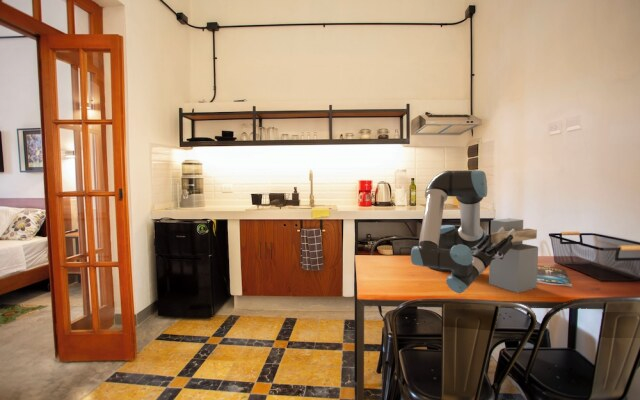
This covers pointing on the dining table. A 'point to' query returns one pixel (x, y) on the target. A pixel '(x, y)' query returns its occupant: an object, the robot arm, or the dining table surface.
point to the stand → (514, 261)
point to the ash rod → (520, 235)
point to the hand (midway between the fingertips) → (508, 230)
